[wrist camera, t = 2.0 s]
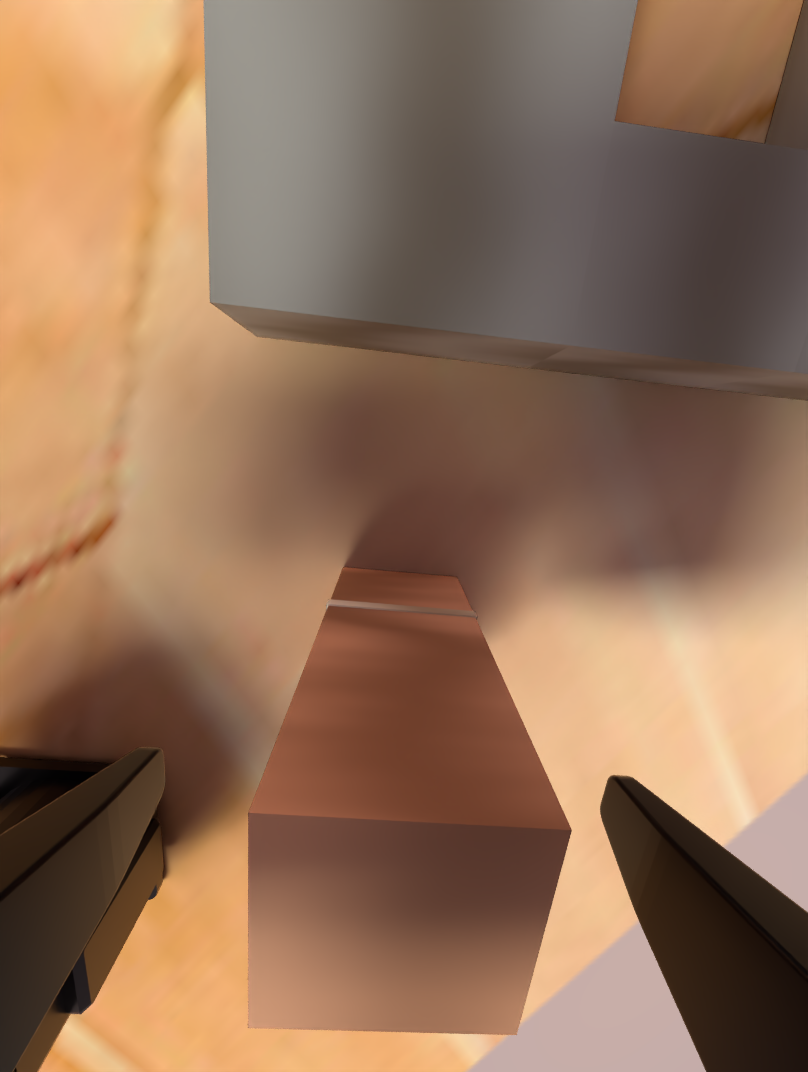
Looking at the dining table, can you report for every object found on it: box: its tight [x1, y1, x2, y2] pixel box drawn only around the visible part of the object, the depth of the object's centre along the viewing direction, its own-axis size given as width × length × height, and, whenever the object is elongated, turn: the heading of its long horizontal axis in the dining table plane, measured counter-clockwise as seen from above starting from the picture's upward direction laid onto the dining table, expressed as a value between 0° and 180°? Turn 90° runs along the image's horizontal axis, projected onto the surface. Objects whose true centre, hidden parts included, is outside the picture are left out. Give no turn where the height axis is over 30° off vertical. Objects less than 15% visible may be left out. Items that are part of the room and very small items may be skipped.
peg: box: [248, 567, 572, 1035], centre depth 10 cm, size 4×4×9 cm
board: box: [204, 0, 808, 401], centre depth 9 cm, size 22×14×3 cm, turn 84°
